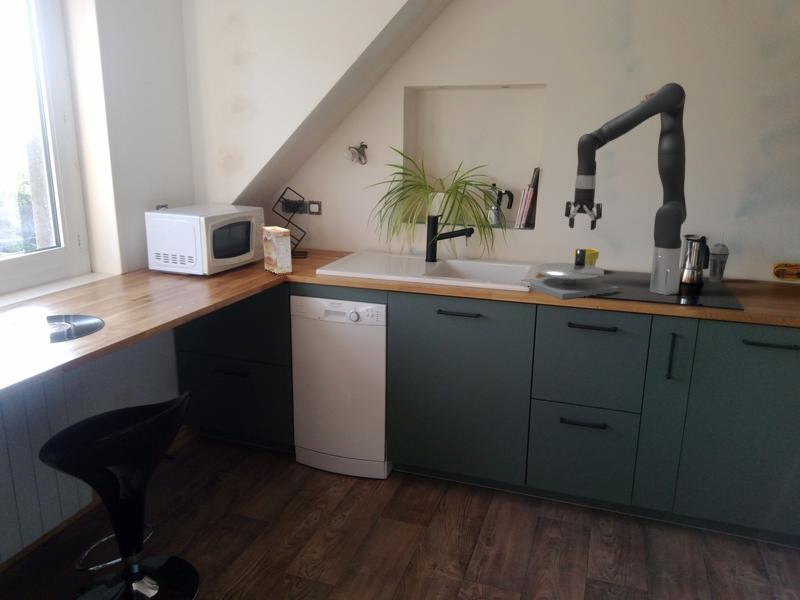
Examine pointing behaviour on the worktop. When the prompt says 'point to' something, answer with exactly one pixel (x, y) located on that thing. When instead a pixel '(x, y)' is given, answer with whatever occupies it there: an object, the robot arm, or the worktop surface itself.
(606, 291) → the wheel base
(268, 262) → the coffeecake box
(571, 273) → the handwheel
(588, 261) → the plant pot
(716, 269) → the beverage cup
